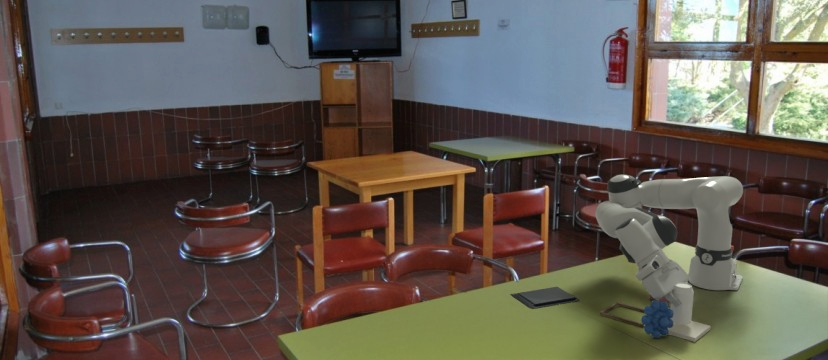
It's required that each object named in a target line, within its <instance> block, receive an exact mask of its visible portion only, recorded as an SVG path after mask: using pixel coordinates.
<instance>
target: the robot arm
mask: <svg viewBox="0 0 828 360" xmlns="http://www.w3.org/2000/svg"><path fill="white" fill-rule="evenodd" d="M606 185H607V186H606V189H607V192H608V200H605V201H603V202H601V203H599V204H598V206H597V207H596V210H595V218H596V221H597V224H598V225H599V228H601V230H602V231H603V232H604V233H605V234H606V235H608V236H609V237H611V238H614V239H618V241H620V244H619V248H618V249H619V250H620V251H621V252H622V254H623V255H624V257H625V258H626V259H627V262H628V263H631V264H636V265H637V267H638V270H637V272H636V274H635V277H636V279H637V280H638V282H639V281H640V282H641V284H642V286H643V287H644V289H645V290H646V291H647V293H649V296H650V295H651V296H652V297H653V298H654V299H656V301H658V300H659V299H660V298H662V297H663V296H664V297H665V298H666V299H667V300H668V301H670V304H671V303H673V305H674V306H675V307H678V306H680V305H681V304H682V303H681V302H680V301H679V299H676V298H675V297H674V296H673V293H672V291H673V290H674V289H675V285H677V284H679V282H682V283H687V282H689V284H690V285H692V286H695V287H697V288H700V289H705V290H709V291H710V290H711V291H727V290H729V291H738V290H739V288H740V286H741V284H742V282H743V280H744V279H743V275H741V274H737V271H738V265H737V263H736V261H735V260H734V259H733V251H734V248H735V247H734V245H732V237H733V225H732V224H731V221H730V215H729V208H730V207H732V206H734V205H736V203H738V202H739V201H740V199H741V198H742V196H743V194H744V187H743V184H742V183H741V181H740V180H739V179H737V178H736V177H733V176H728V175H727V176H726V175H723V176H722V175H721V176H708V177H707V176H706V177H696V178H695V177H694V178H691V177H690V178H665V179H664V178H661V179H654V180H647V181H643V182H642V181H641V180H640V179H638V178H636V177H634V176H632V175H630V174H616V175H614V176H613V177H611V178H609V180H607V184H606ZM643 206H644V207H647V208H648V207H649V208H654V209H666V210H667V209H669V210H676V209H677V210H689V209H696V213H697V221H698V232H697V243H696V244H695V249H694V251H695V253H694V254H695V255H693V256H692V257H690V263H689V269H688V273H687V272H686V270H685V269H684V268H683V267H682V266H681V265H680V264H679V263H678V262H676V261H675V260H672V259H670V258H669V257H668V256H667V254H666V253H665V252H664V251H663V249H664V248H666V247H668V246H670V245H673V244H674V243H675V242H676V241H677V238H678V229H677V227H676V225H675V223H673V221H672V220H671V219H670V218H668V217H667V216H665V215H661V214H657V213H653V212H651V211H649V210H647V209H645V208H643Z"/></svg>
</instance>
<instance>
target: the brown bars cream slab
mask: <svg viewBox="0 0 828 360" xmlns="http://www.w3.org/2000/svg"><path fill="white" fill-rule="evenodd" d="M618 306H620V307H624V308H627V309H631V310H634V311H637V312H640V313H641V312H642V313H644V308H641V307H640V306H639V307H638V306H635V305H630V304H627V303H623V302H619V301H617V302H614V303H613V304H611V305H609V306H608V307H606V308H604V309H602V310H601V311H599V316H602V317H606V318H609V319H613V320H617V321H619V322H620V321H621V322H624V323H627V324H631V325H634V326H637V327H641V328H644V326H645V325H644V324H643V323H642V322H639V321H636V320H631V319H628V318H624V317H621V316H618V315H616V314H615V315H614V314H611V313H609V312H610V311H612V310H613V309H614V308H616V307H618ZM607 312H608V313H607ZM711 329H712V328H711V325H710V324H709V325H708V324H706V323H701V322H698V321H693V320H691V322H690V323H689V324H687V325H678V324H675V323H674V325H673V327H671V328H668V334H667V335H670V336H674V337H678V338H680V339H684V340H687V341H690V342H694V343H695V342H697V341H698V340H699V339H701V338H702V337H703V336H704V335H706V334H707V333H708V332H709V331H711Z"/></svg>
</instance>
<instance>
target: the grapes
mask: <svg viewBox="0 0 828 360" xmlns="http://www.w3.org/2000/svg"><path fill="white" fill-rule="evenodd" d="M651 301H652V302H651V303H650V305H645V306H644V308H643V309H644V312H643V313H644V315H642V316H641V318H640V323H643V324H644V327H643V331H644V333H646V334H647V335H651V336H652V338H654V339H659V338H660V337H661V336H664V337H665V336H668V335H669V334H668V328H671V327H673V325H674V323H673V320H672V319H670V318H672V317H673V315H674V313H673V311H672V310H671V309H670V308H669V303H668V304H667V303H666V302H658V300H651Z"/></svg>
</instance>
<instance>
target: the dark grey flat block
mask: <svg viewBox="0 0 828 360" xmlns="http://www.w3.org/2000/svg"><path fill="white" fill-rule="evenodd" d="M509 296H512V297H513V299H515V300H516V301H519V302H520V303H521V304H523V305H524V306H526V307H527V308H528V309H531V310H536V309H541V308H547V307H553V306H559V304H560V305H564V304H565V305H566V304H570V303H571V302H572V303H577V302H580V301H581V299H579V298H578V297H577V296H574V295H573V294H571V293H570V292H568V291H566V290H564V289H563V288H561V287H559V286H551V287H544V288H539V289H533V290H532V289H531V290H526V291H519V292H515V293H510V294H509Z"/></svg>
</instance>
